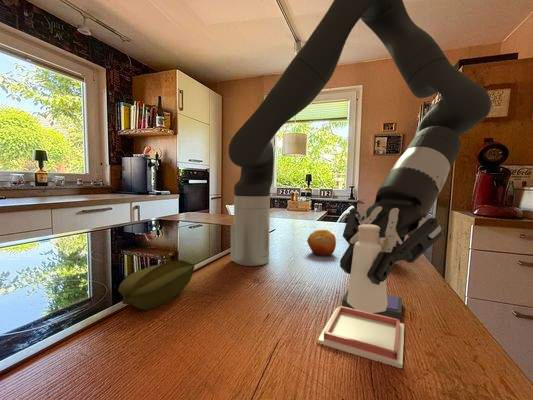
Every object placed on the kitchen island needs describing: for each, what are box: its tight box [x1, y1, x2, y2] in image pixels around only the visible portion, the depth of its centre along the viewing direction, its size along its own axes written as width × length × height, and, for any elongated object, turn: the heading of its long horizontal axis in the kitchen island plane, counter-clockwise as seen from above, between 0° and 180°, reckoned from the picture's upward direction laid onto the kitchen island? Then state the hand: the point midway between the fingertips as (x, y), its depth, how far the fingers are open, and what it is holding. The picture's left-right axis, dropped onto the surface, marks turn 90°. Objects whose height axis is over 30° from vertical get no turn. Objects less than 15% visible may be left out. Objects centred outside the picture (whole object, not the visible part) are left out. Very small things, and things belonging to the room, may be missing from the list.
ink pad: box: [341, 289, 403, 321], centre depth 47 cm, size 9×6×1 cm, turn 62°
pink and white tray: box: [317, 305, 405, 369], centre depth 38 cm, size 10×10×1 cm
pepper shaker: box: [347, 224, 388, 313], centre depth 37 cm, size 5×5×11 cm
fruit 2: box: [306, 229, 337, 256], centre depth 78 cm, size 8×8×8 cm
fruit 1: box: [117, 259, 195, 311], centre depth 48 cm, size 11×12×7 cm
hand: (358, 274), depth 36 cm, fingers closed on pepper shaker, 4 cm apart
